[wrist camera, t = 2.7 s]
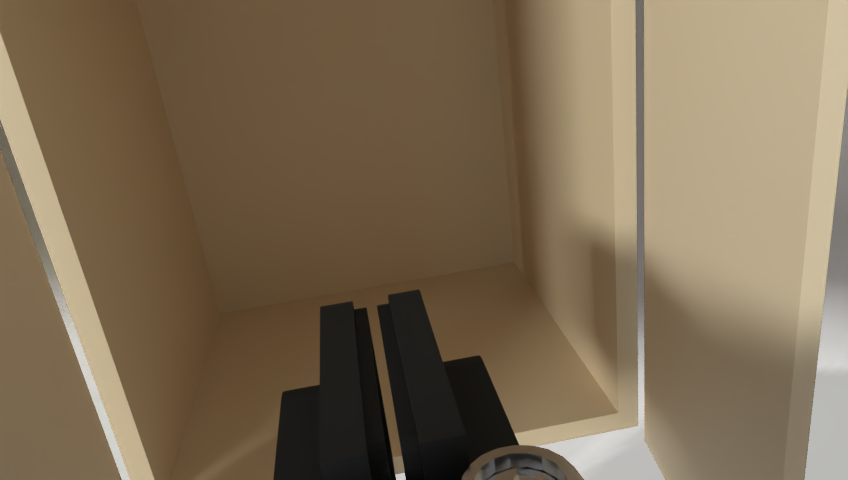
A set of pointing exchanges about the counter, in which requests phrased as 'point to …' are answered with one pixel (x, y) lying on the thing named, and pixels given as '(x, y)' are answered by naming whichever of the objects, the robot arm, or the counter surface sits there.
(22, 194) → the counter surface
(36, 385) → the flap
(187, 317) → the carton
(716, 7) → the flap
